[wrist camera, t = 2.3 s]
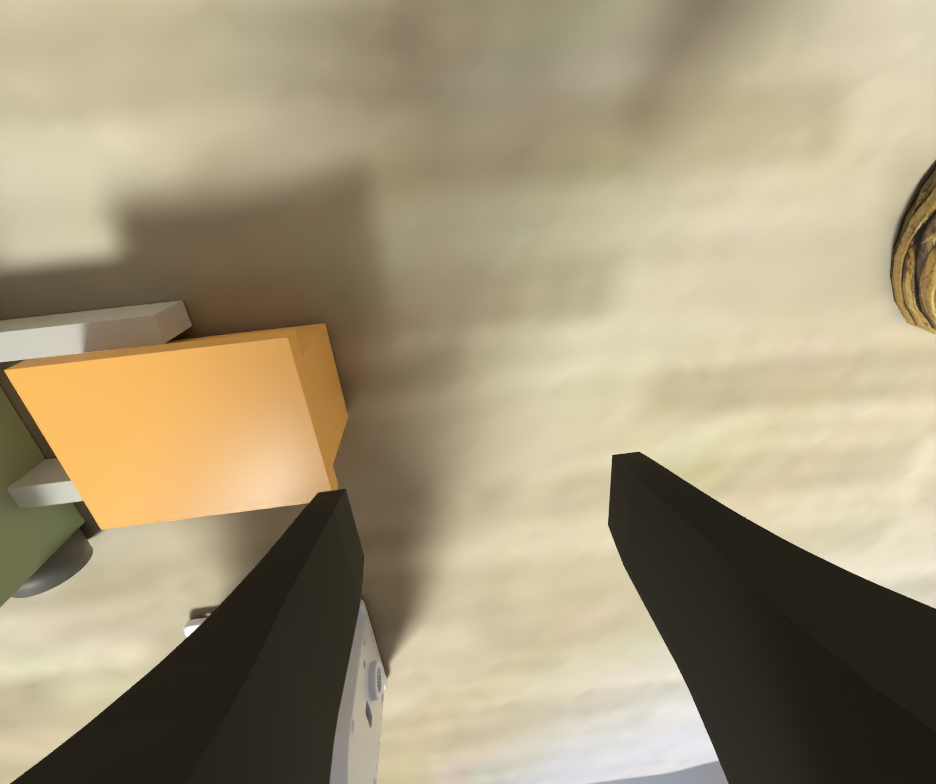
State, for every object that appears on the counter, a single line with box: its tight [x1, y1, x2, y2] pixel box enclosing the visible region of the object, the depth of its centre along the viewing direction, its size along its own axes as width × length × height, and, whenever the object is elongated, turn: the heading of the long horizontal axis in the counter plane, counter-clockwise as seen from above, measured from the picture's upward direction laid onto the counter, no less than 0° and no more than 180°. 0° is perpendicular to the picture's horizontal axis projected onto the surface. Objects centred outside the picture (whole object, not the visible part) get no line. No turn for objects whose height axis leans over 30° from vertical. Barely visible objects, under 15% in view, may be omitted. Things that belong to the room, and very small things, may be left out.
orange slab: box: [4, 323, 348, 530], centre depth 16 cm, size 8×6×4 cm
